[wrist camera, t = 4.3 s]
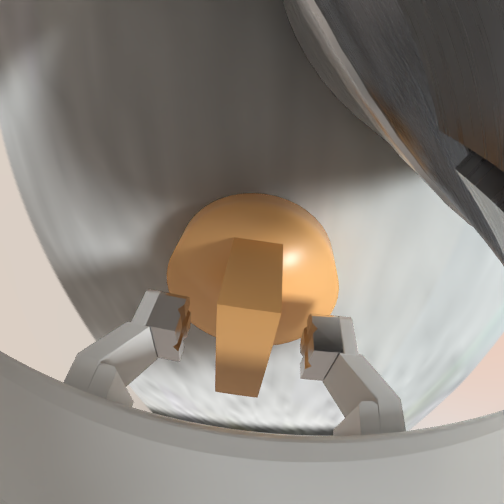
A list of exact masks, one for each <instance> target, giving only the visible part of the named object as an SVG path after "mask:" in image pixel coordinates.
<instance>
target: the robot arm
mask: <svg viewBox="0 0 504 504" xmlns="http://www.w3.org/2000/svg"><path fill="white" fill-rule="evenodd" d="M189 306H190V298H189V297H187V296H182V295H177V294H172V293H167V292H161V291H157V290H152V289H148V290H147V291H146V292H145V294H144V296H143V298H142V300H141V302H140V304H139V306H138V309H137V311H136V313H135V315H134V317H133V319H132V321H131V322H126V323H124V324H123V325H121V326H120V327H118V328H116V329H115V330H113V331H112V332H110V333H109V334H107V335H105V336H104V337H102V338H101V339H99V340H98V341H96V342H95V343H93V344H92V345H90V346H88V347H87V348H85V349H84V350H82V351H81V352H79V353H78V354H77V356H76V358H75V360H74V362H73V364H72V366H71V368H70V370H69V372H68V374H67V376H66V379H65V381H64V383H63V382H61V381H58V380H56V379H54V378H52V377H49V376H47V375H45V374H43V373H41V372H39V371H37V370H35V369H32V368H30V367H28V366H27V365H25V364H23V363H21V362H19V361H17V360H15V359H13V358H11V357H9V356H8V355H6V354H4V353H2V352H1V351H0V504H504V410H502V411H499V412H496V413H493V414H489V415H486V416H482V417H478V418H474V419H470V420H466V421H462V422H457V423H452V424H448V425H442V426H437V427H431V428H425V429H418V430H411V431H406V429H405V422H404V416H403V410H402V404H401V399H400V398H399V397H398V395H397V394H396V393H395V392H394V391H393V390H392V388H391V387H390V386H389V385H388V384H387V383H386V381H385V380H384V379H383V378H382V377H381V376H380V374H379V373H378V372H377V371H376V370H375V369H374V367H373V366H372V365H371V364H370V363H369V362H368V361H367V359H366V358H365V357H364V356H363V355H361V354H358V348H357V342H356V336H355V331H354V325H353V320H352V318H351V317H342V316H332V315H321V314H311V313H310V315H309V316H308V319H307V327H305V328H304V330H303V333H302V337H301V344H300V353H301V354H302V356H303V358H302V360H301V363H300V379H310V380H321V381H323V383H324V385H325V386H326V388H327V389H328V391H329V393H330V394H331V396H332V397H333V399H334V401H335V402H336V404H337V406H338V407H339V409H340V410H341V412H342V414H343V415H344V417H345V419H344V420H343V421H342V422H341V423H340V424H339V425H338V426H337V427H336V428H335V429H334V430H333V436H304V435H284V434H271V433H260V432H251V431H242V430H235V429H228V428H221V427H215V426H209V425H204V424H198V423H193V422H188V421H184V420H179V419H174V418H170V417H166V416H162V415H158V414H154V413H150V412H147V411H143V410H139V409H136V408H133V407H132V405H133V400H132V398H131V396H130V394H129V393H128V391H127V389H126V386H127V385H129V384H130V383H131V382H132V381H133V380H134V379H135V378H136V377H138V376H139V375H140V374H141V373H142V372H143V371H144V370H145V369H147V368H148V367H149V366H150V365H151V364H152V363H153V362H154V361H156V360H157V359H158V358H163V359H168V360H174V361H179V362H180V360H181V357H182V353H183V350H184V339H185V338H187V337H188V333H189V329H190V324H191V312H190V311H189V310H188V309H189ZM157 357H158V358H157Z"/></svg>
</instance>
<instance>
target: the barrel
mask: <svg viewBox="0 0 504 504" xmlns="http://www.w3.org/2000/svg"><path fill="white" fill-rule="evenodd" d="M283 3H284V6H285V10H286V13H287V17H288V20H289V22H290V24H291V27H292V29H293V32H294V34H295V37H296V39H297V41H298V43H299V44H300V46H301V48H302V50H303V52H304V53H305V55H306V57H307V59H308V60H309V62H310V63H311V65H312V66H313V68H314V69H315V70H316V72H317V73H318V75H319V76H320V78H321V79H322V80H323V82H324V83H325V84H326V85H327V86H328V88H329V89H330V90H331V91H332V92H333V94H334V95H335V96H336V97H337V98H338V99H339V100H340V101H341V102H342V103H343V104H344V105H345V106H346V107H347V108H348V109H349V110H350V111H351V112H352V113H353V114H354V115H355V116H356V117H358V118H359V119H360V120H361V121H362V122H364V123H365V124H366V125H367V126H368V127H370V128H371V129H372V130H373V131H375V132H376V133H377V134H378V135H380V136H381V137H382V138H383V139H385V140H386V141H387V142H388V143H389V144H390V145H391V146H392V147H393V149H394V150H395V151H396V152H397V153H398V155H399V156H400V157H401V158H402V159H403V160H404V161H405V162H406V163H407V164H408V165H409V166H410V167H411V168H412V169H413V170H414V171H415V172H416V173H417V174H418V175H419V176H420V177H421V178H422V179H423V180H424V181H425V182H426V183H427V184H428V185H429V186H430V187H431V188H432V189H433V191H434V192H435V193H436V194H437V195H438V196H439V197H440V198H441V199H442V200H443V201H444V202H445V203H446V204H447V205H448V206H449V207H450V208H451V209H452V210H454V211H455V212H456V213H457V214H458V215H459V216H461V217H462V218H463V219H464V220H465V221H466V222H467V223H468V224H470V225H471V226H473V227H474V228H475V229H476V231H477V232H478V233H479V234H480V236H481V237H482V238H483V239H484V240H485V242H486V243H487V244H488V246H489V247H490V248H491V249H492V251H493V252H494V253H495V255H496V256H497V257H498V259H499V260H500V261H501V263H502V264H503V266H504V0H283Z"/></svg>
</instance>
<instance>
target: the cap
mask: <svg viewBox="0 0 504 504" xmlns="http://www.w3.org/2000/svg"><path fill="white" fill-rule="evenodd" d="M167 285H168V290H169V292H170V293H172V294H177V295H182V296H187V297H189V298H190V306H189V309H188V310H189V311H190V312H191V323H192V324H194V325H195V326H196V327H198V328H199V329H201V330H203V331H204V332H206V333H208V334H210V335H212V336H214V337H216V375H215V391H216V392H222V393H228V394H235V395H242V396H249V397H258V394H259V390H260V387H261V384H262V380H263V377H264V373H265V370H266V367H267V363H268V360H269V356H270V353H271V349H272V346H273V345H278V344H283V343H287V342H291V341H294V340H297V339H299V338H301V337H302V333H303V330H304V328H305V327H307V319H308V316H309V315H310V313H311V314H321V315H330V314H331V312H332V310H333V309H334V307H335V304H336V301H337V298H338V291H339V283H338V276H337V271H336V266H335V261H334V256H333V251H332V247H331V243H330V240H329V238H328V235H327V233H326V232H325V230H324V229H323V227H322V225H321V224H320V223H319V222H318V221H317V220H316V218H315V217H313V216H312V215H311V214H310V213H309V212H308V211H306V210H305V209H303V208H302V207H300V206H299V205H297V204H295V203H293V202H291V201H289V200H286V199H283V198H280V197H277V196H273V195H268V194H259V193H243V194H236V195H231V196H227V197H224V198H221V199H218V200H216V201H214V202H212V203H210V204H209V205H207V206H205V207H204V208H202V209H201V210H200V211H199V212H198V213H197V214H196V215H195V216H194V217H193V218H192V219H191V221H190V222H189V223H188V225H187V227H186V229H185V230H184V232H183V234H182V236H181V238H180V240H179V242H178V244H177V246H176V248H175V250H174V252H173V254H172V256H171V258H170V261H169V264H168V268H167Z"/></svg>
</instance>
